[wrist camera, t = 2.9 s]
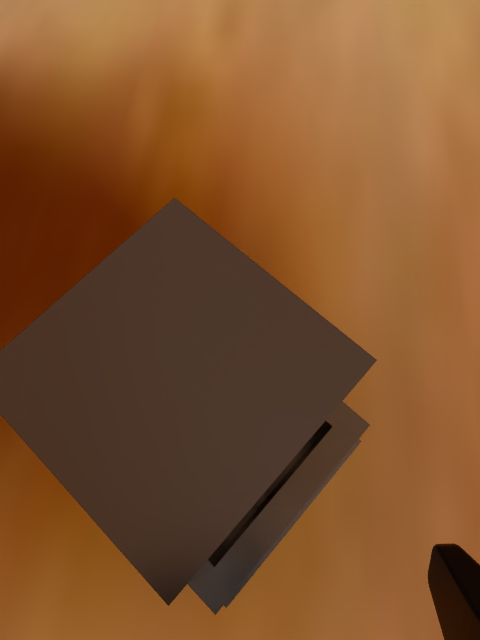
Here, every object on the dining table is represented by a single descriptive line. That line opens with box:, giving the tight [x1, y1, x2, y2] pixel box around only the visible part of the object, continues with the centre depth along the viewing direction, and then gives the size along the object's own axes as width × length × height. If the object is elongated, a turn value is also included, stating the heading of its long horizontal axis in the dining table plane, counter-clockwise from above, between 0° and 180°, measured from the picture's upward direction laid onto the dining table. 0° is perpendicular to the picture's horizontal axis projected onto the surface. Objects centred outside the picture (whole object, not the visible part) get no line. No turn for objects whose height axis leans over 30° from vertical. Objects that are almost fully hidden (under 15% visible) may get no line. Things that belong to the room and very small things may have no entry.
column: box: [0, 198, 377, 606], centre depth 13 cm, size 4×4×12 cm
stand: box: [187, 402, 370, 615], centre depth 17 cm, size 8×8×6 cm
